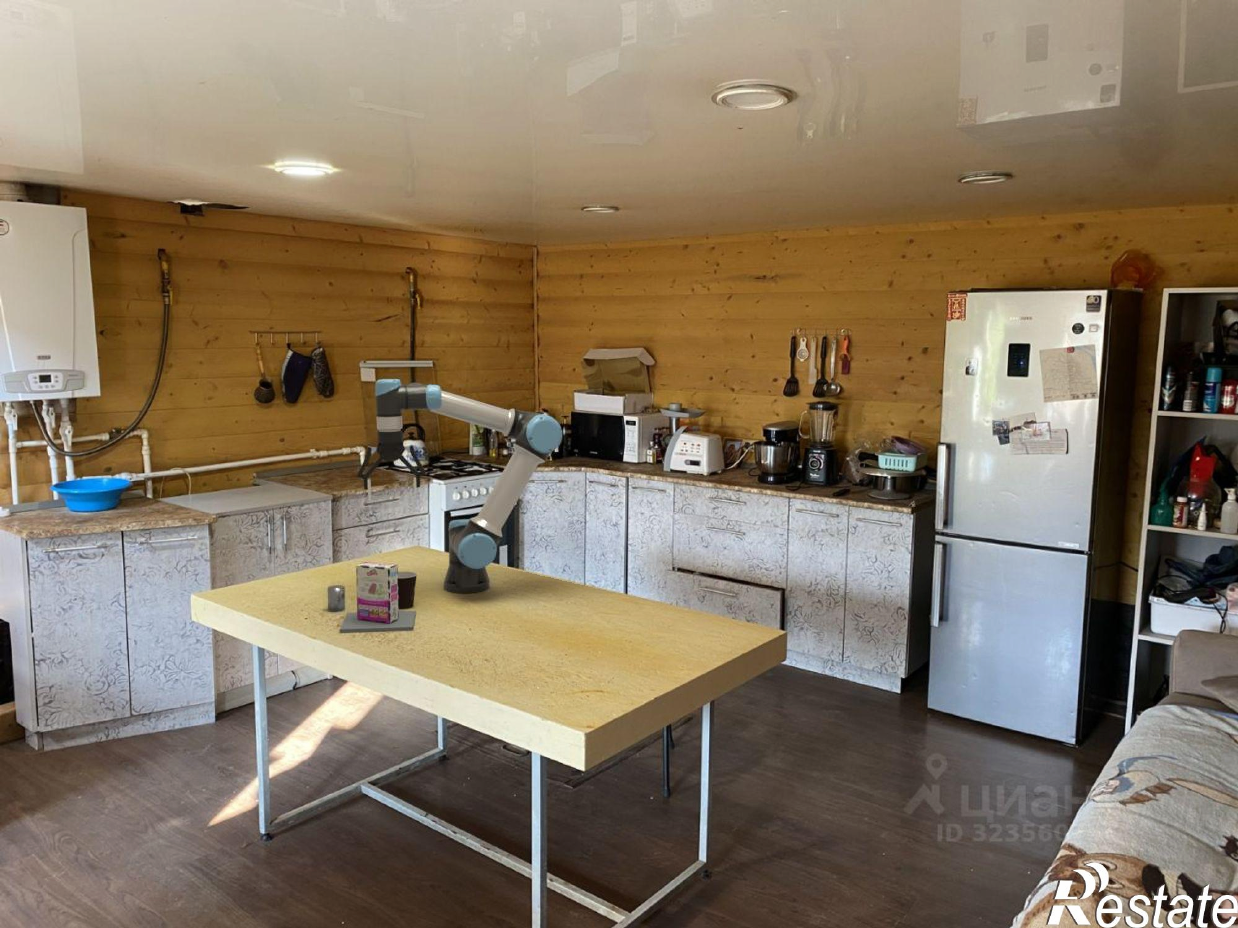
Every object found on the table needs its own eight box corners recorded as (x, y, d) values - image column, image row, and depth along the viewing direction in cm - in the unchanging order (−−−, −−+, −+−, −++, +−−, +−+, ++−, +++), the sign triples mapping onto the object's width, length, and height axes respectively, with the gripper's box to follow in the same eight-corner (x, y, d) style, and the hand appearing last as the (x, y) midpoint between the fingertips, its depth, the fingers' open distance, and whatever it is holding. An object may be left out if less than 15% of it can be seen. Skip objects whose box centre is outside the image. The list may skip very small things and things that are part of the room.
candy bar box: (399, 619, 260) (399, 564, 258) (390, 624, 255) (389, 568, 253) (366, 615, 263) (365, 560, 261) (356, 619, 259) (355, 564, 256)
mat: (416, 613, 269) (416, 610, 269) (413, 630, 253) (412, 626, 253) (347, 615, 266) (347, 612, 266) (339, 632, 250) (339, 629, 250)
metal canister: (346, 607, 275) (345, 584, 274) (344, 611, 270) (343, 589, 269) (329, 607, 274) (328, 585, 273) (326, 612, 269) (326, 589, 268)
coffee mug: (409, 611, 272) (409, 579, 270) (383, 609, 273) (382, 577, 272) (425, 600, 283) (425, 570, 282) (400, 598, 285) (399, 568, 283)
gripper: (431, 427, 278) (434, 495, 281) (347, 430, 273) (351, 498, 275) (432, 430, 271) (434, 499, 274) (346, 432, 265) (349, 503, 268)
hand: (392, 499), depth 275 cm, fingers open, 13 cm apart
